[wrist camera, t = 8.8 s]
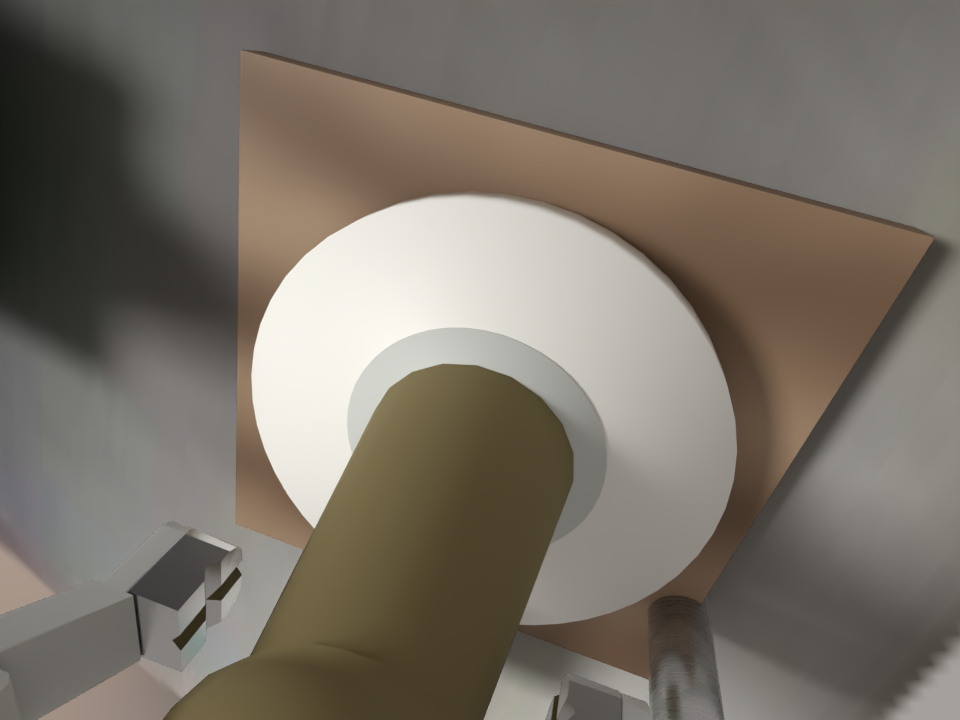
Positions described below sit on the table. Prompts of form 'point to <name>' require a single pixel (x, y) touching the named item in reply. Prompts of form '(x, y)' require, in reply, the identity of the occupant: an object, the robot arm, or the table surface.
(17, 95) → the table surface
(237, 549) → the robot arm
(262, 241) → the wooden board
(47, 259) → the table surface
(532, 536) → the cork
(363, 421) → the white oval plate
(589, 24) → the table surface
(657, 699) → the dowel
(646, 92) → the table surface
